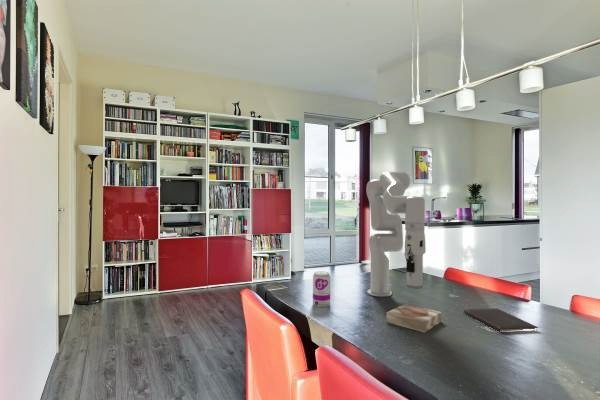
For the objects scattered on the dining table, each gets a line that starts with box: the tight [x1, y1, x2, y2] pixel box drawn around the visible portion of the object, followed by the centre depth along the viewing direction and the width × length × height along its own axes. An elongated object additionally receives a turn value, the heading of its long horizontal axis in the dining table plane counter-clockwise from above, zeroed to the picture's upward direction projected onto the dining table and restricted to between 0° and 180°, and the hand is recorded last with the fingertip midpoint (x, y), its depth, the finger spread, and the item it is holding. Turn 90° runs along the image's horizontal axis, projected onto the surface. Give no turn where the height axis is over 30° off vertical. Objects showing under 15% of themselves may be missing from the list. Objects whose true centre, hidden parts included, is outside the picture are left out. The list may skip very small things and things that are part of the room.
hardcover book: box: [463, 308, 539, 332], centre depth 147 cm, size 16×23×2 cm
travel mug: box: [406, 240, 424, 290], centre depth 146 cm, size 6×7×20 cm
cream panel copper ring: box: [385, 303, 442, 333], centre depth 146 cm, size 16×16×4 cm
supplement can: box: [312, 271, 331, 308], centre depth 168 cm, size 8×8×15 cm
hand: (414, 270), depth 146 cm, fingers closed on travel mug, 6 cm apart
